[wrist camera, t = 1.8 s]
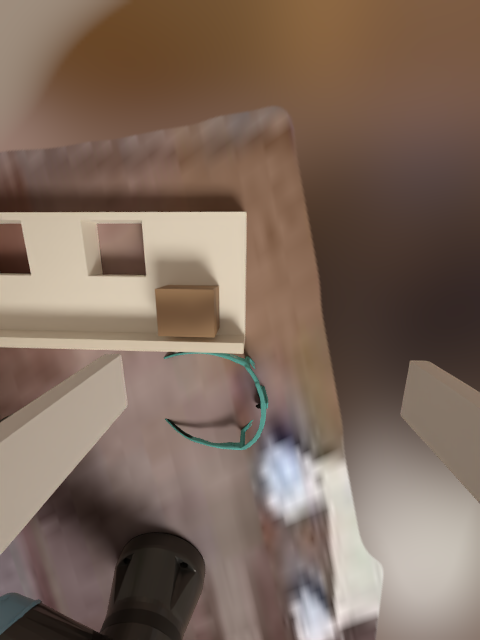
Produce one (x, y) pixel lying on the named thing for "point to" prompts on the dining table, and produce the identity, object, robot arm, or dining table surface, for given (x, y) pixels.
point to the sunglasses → (263, 407)
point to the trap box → (121, 281)
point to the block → (188, 310)
